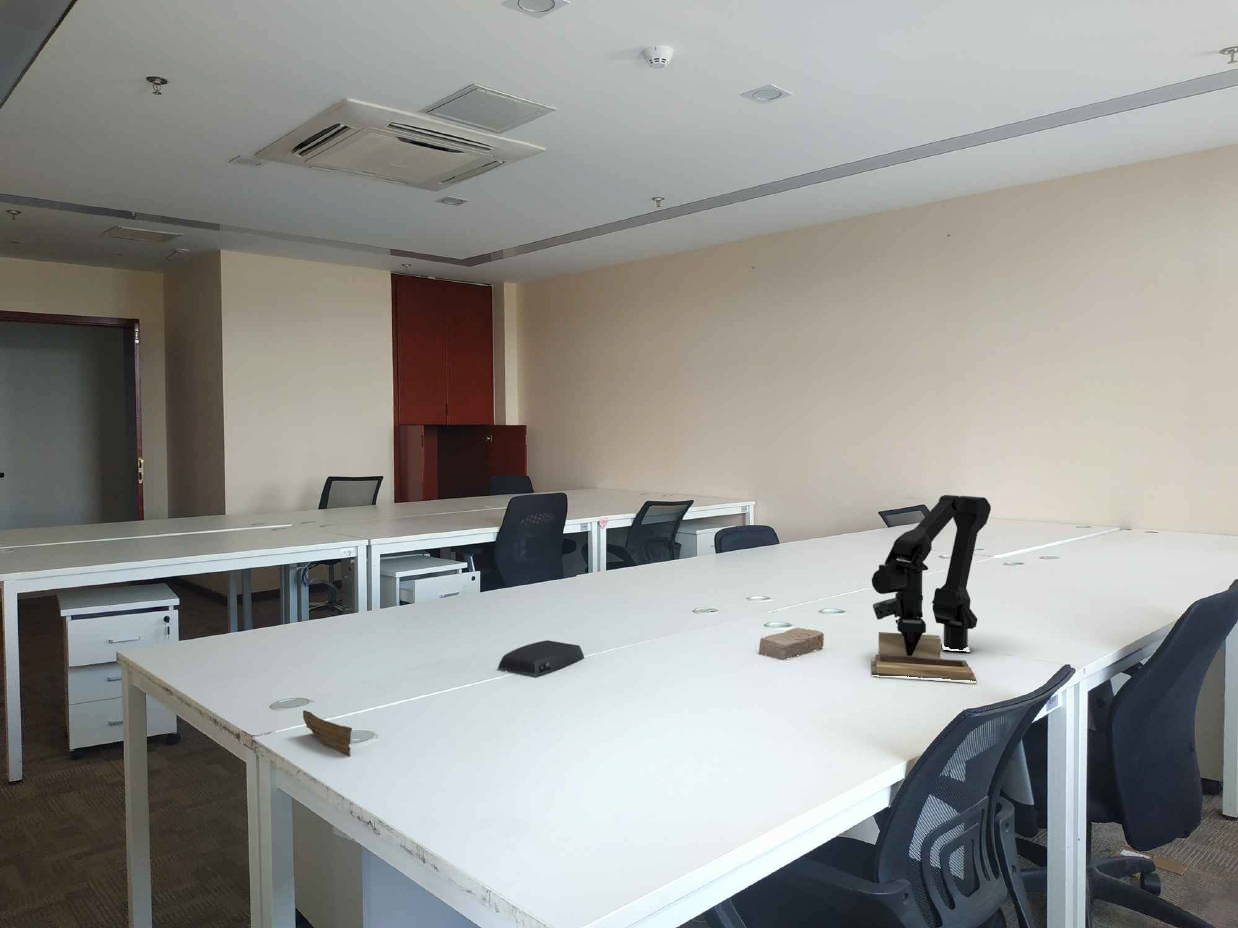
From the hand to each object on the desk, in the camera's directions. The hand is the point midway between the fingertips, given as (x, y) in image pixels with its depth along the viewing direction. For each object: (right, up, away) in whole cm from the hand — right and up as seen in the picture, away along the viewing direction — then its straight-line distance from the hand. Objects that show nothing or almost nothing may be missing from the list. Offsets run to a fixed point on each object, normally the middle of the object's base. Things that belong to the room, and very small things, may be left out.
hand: (908, 653), depth 208 cm
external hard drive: (-89, -3, -2) cm, 89 cm away
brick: (-27, -2, +8) cm, 28 cm away
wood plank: (-122, -5, -54) cm, 134 cm away
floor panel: (-1, -2, -12) cm, 12 cm away
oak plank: (0, -2, 0) cm, 2 cm away
